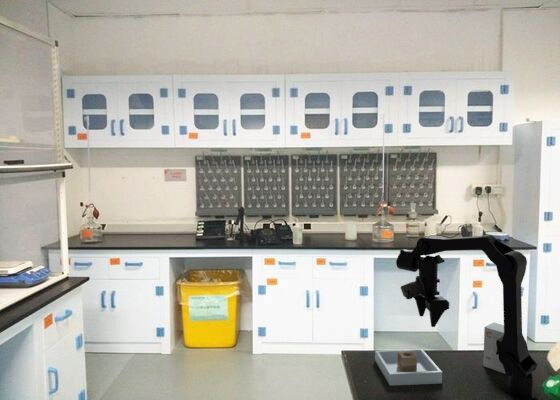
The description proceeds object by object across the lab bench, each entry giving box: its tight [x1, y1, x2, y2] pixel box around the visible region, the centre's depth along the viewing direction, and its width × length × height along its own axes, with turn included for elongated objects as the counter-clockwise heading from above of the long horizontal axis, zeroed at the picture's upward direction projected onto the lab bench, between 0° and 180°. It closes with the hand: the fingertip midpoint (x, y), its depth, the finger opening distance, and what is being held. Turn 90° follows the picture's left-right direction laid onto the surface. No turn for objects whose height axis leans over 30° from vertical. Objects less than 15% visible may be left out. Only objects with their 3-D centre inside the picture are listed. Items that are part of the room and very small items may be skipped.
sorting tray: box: [374, 348, 443, 386], centre depth 137 cm, size 16×16×4 cm
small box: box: [482, 322, 506, 375], centre depth 138 cm, size 8×6×13 cm
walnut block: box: [397, 351, 417, 372], centre depth 137 cm, size 4×4×5 cm
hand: (427, 321), depth 144 cm, fingers open, 9 cm apart
